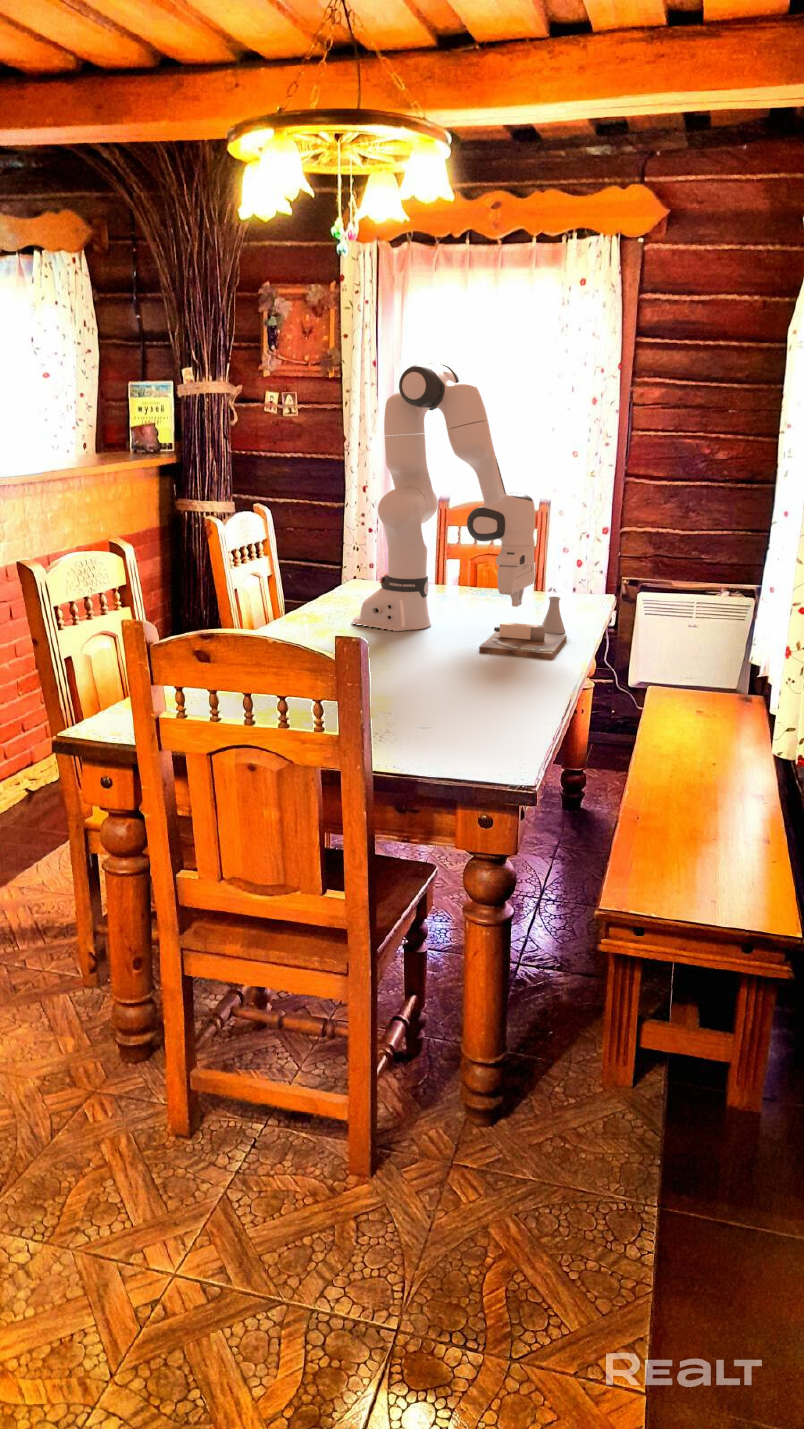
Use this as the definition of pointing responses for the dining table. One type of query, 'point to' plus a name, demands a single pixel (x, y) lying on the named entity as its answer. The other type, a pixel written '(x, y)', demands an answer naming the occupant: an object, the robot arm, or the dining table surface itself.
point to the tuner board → (524, 646)
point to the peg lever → (521, 631)
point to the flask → (553, 618)
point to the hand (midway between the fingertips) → (516, 605)
